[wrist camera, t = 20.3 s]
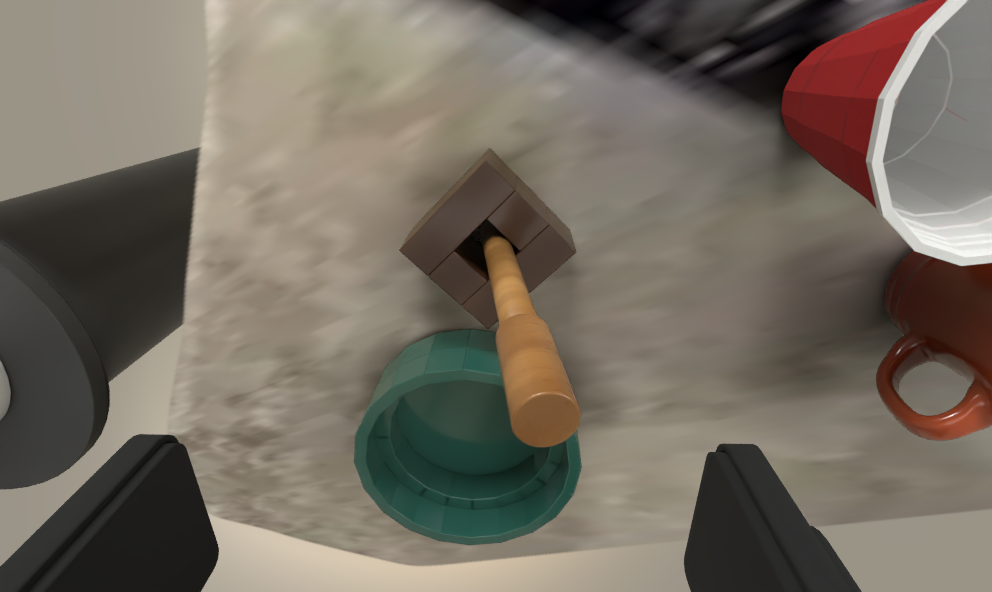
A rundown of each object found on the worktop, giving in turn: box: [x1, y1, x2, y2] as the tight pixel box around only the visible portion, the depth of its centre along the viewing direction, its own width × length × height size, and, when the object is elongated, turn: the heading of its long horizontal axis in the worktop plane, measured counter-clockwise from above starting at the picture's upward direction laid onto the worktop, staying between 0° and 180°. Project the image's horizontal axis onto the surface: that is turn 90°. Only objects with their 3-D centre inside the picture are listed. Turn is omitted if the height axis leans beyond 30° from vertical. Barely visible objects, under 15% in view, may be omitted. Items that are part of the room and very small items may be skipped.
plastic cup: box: [781, 0, 992, 266], centre depth 22 cm, size 11×11×12 cm
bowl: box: [354, 329, 582, 545], centre depth 35 cm, size 15×15×6 cm
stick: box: [480, 220, 581, 447], centre depth 24 cm, size 2×2×18 cm
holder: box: [399, 149, 576, 329], centre depth 30 cm, size 7×7×4 cm
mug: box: [876, 250, 992, 441], centre depth 28 cm, size 12×9×10 cm
